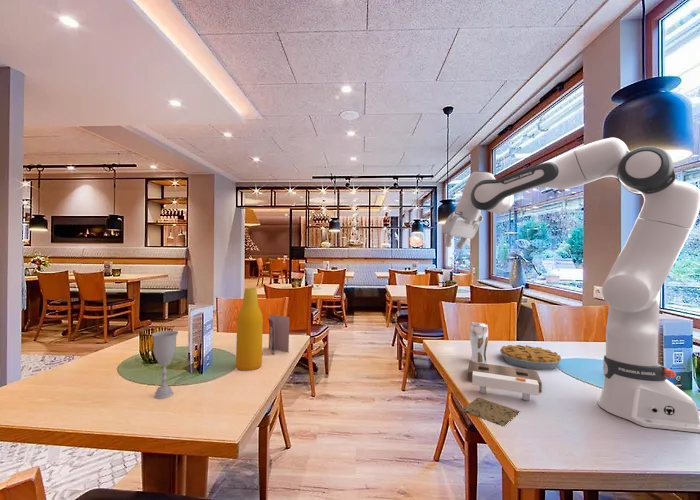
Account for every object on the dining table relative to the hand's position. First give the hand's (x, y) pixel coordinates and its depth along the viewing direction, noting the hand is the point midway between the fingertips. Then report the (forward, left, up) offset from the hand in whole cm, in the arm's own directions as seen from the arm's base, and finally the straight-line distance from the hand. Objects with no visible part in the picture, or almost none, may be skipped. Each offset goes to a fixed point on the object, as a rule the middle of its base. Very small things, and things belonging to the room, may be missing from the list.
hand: (453, 247), depth 128 cm
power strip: (-18, +22, -46) cm, 54 cm away
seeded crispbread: (-14, +35, -46) cm, 60 cm away
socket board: (-18, +8, -46) cm, 50 cm away
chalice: (+74, +65, -46) cm, 109 cm away
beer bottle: (+68, +35, -46) cm, 90 cm away
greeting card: (+70, +14, -46) cm, 85 cm away
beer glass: (-10, -9, -46) cm, 48 cm away
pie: (-29, -19, -46) cm, 57 cm away
